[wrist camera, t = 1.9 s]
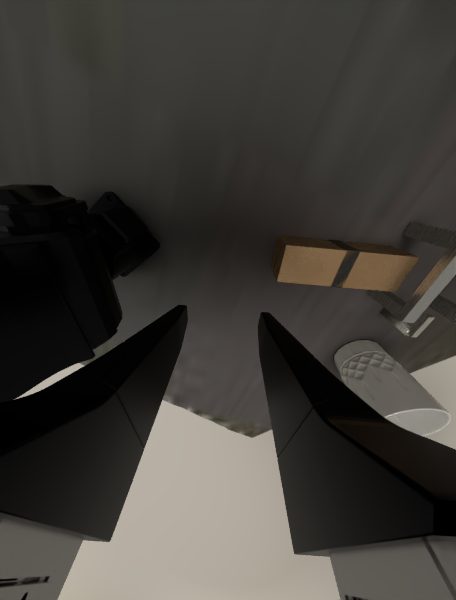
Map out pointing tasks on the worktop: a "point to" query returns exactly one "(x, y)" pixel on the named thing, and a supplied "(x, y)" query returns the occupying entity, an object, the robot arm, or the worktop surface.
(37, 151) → the worktop surface
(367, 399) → the white cup
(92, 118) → the worktop surface
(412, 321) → the gray bracket rail
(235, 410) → the worktop surface
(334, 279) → the taped cardboard box
